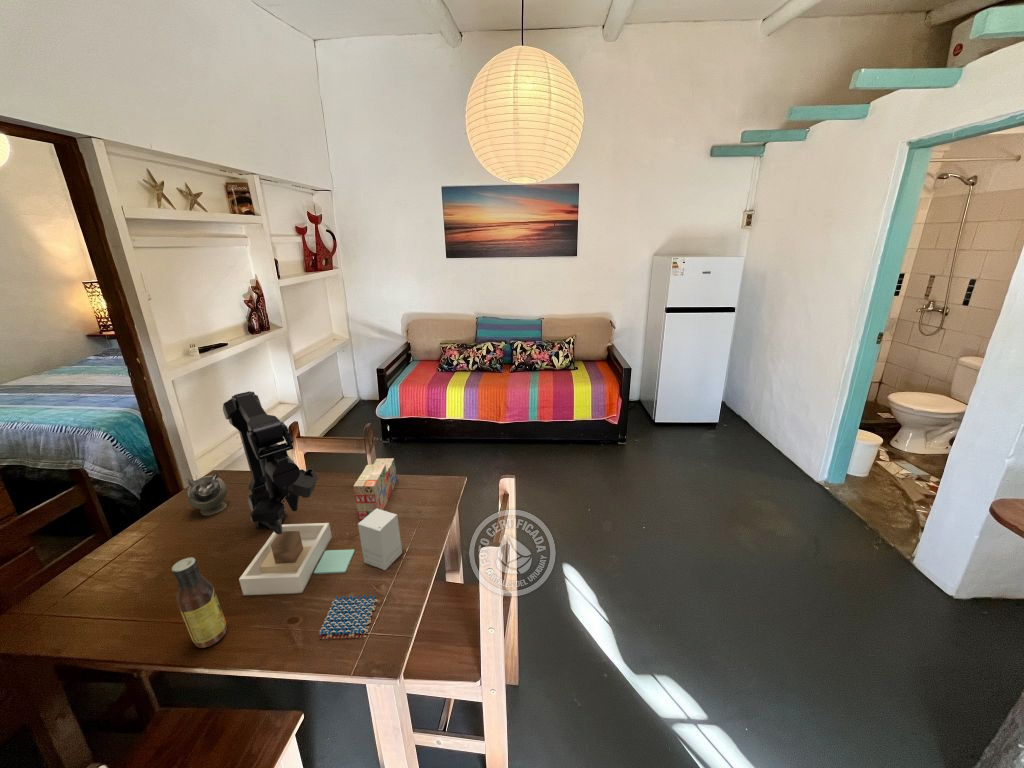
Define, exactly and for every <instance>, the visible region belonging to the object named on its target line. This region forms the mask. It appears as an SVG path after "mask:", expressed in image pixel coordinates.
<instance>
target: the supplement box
mask: <svg viewBox="0 0 1024 768" xmlns="http://www.w3.org/2000/svg"><path fill="white" fill-rule="evenodd" d="M398 517H399V516H398V514H397V513H393V512H389V511H387V510H385V509H383V510H380V509H377V508H376V509H375V510H374V511H373V512H371V513H370V514H369V515H368V516H367V517H365V518H364V519H361V520H360V521H359V522H358V523H357V527H358V532H359V533H358V535H359V539H360V544H361V551H362V556H363V562H364V564H367V565H370V566H372V567H375V568H378V569H380V570H384V571H386V570H387V569H388V568H389V567H390V566H391V565H392V564H393V563H394V562H396V560H397V559H398V558H399V557H400V556H401V554H402V553H403V550H402V549H403V548H402V540H401V532H400V527H399V526H400V525H399V518H398Z"/></svg>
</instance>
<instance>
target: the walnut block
mask: <svg viewBox="0 0 1024 768" xmlns="http://www.w3.org/2000/svg"><path fill="white" fill-rule="evenodd" d="M271 548H272V552H273V556H274V560H275V564H278V563H295V562H296V561H297V559H298V557H299V556H300V554H301V552H302V551H303V545H302V541H301V536H300V532H299V531H282V534H278V535H277V537H276V538H275V539H274V541H273V542H272V544H271Z"/></svg>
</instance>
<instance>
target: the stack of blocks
mask: <svg viewBox="0 0 1024 768" xmlns="http://www.w3.org/2000/svg"><path fill="white" fill-rule="evenodd" d="M397 482H398V478H397V469H396V465H395V458H394V457H393V458H376V459H375V461H374V463H373V464H367V465H365V467H364V469H363V471H362V473H361V474H360V475H359V477H358V479H357V480H356V481H355V483H354V485H353V493H354V499H355V503H356V509H357V510H356V511H357V515H358V517H357V518H358V520H363V519H364V518H365V517H367V516H368V515H369V514H370V513H371V512H373V511H374V510H375V509H376V508H377V509H380V510H385V507H386V505H387V503H388V500H389V499H388V498H390V496H391V494H392V492H393V490H394V488H395V485H396V484H397Z"/></svg>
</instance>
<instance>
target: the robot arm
mask: <svg viewBox="0 0 1024 768" xmlns="http://www.w3.org/2000/svg"><path fill="white" fill-rule="evenodd" d="M222 411H223V415H224V418H225V420H228V423H229V424H230V425H231V426H232V427H234V428H235V429H236V430H237V431H238V433H239V436H240V441H241V443H242V446H243V450H244V454H245V458H246V461H247V465H248V468H249V471H250V475H251V480H250V483H249V485H248V492H249V495H247V503H248V506H249V509H250V510H251V512H250V514H249V516H250V519H251V522H252V523H257V524H256V525H255V526H254V527H255V530H257V529H258V530H259V529H262V530H263V529H270V530H271V531H273V532H275V533H276V534H282V522H283V521H284V519H285V518H286V516H287V513H286V511H285V509H286V507H285V504H284V503H285V501H286V502H287V505H288V506H289V508H290V509H291V511H292V512H297V511H298V506H299V499H300V497H302V498H304V499H305V498H307V499H308V498H310V497H311V495H312V494H313V491H315V488H316V483H317V482H318V476H317V474H316V471H315V469H314V468H311V467H308V468H307V469H306V470H304V469H300V467H299V466H298V465H297V463H295V462H294V460H293V459H292V458H291V457H290V456H289V454H288V451H292V450H293V449H294V445H293V444H294V439H293V436H292V435H291V433H290V430H289V428H288V426H287V425H285V422H283V421H281V420H280V419H279V418H278V417H277V416H275V415H273V414H272V415H271V414H267V412H266V411H265V409H264V408H263V407H262V403H261V400H260V398H259V396H258V395H257V394H255V392H254V391H250V390H249V391H244V392H241V393H236V394H234V395H232V396H231V398H230V399H228V400H226V401H225V402H224V403H222ZM284 441H285V442H284ZM283 442H284V443H283ZM280 443H281V444H280Z"/></svg>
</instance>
